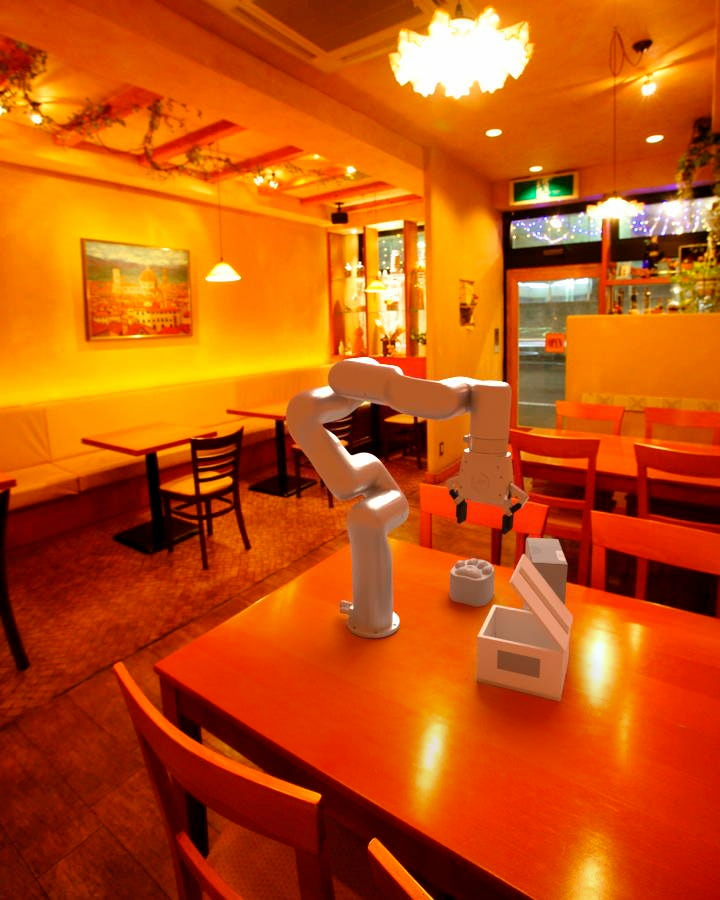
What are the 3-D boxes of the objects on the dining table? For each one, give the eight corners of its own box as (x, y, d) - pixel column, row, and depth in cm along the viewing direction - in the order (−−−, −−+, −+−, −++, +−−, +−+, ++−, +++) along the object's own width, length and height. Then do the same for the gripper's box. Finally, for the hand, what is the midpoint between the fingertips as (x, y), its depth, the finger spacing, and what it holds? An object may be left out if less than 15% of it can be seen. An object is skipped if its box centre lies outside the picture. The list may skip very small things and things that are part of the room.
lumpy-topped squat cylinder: (445, 599, 149) (445, 568, 147) (464, 579, 160) (464, 550, 158) (483, 608, 143) (484, 577, 141) (500, 588, 154) (501, 558, 152)
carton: (476, 681, 115) (477, 636, 112) (492, 645, 127) (493, 604, 125) (560, 701, 108) (563, 654, 106) (568, 661, 120) (570, 618, 118)
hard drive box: (563, 649, 125) (568, 565, 120) (527, 646, 126) (530, 563, 122) (554, 614, 140) (558, 537, 135) (521, 612, 141) (524, 536, 137)
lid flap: (508, 582, 107) (511, 581, 107) (522, 555, 120) (524, 553, 119) (563, 653, 106) (566, 651, 105) (570, 617, 118) (573, 616, 118)
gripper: (439, 442, 114) (436, 523, 118) (524, 455, 104) (517, 542, 108) (456, 435, 120) (453, 512, 124) (538, 447, 110) (531, 530, 114)
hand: (483, 526), depth 116 cm, fingers open, 9 cm apart
